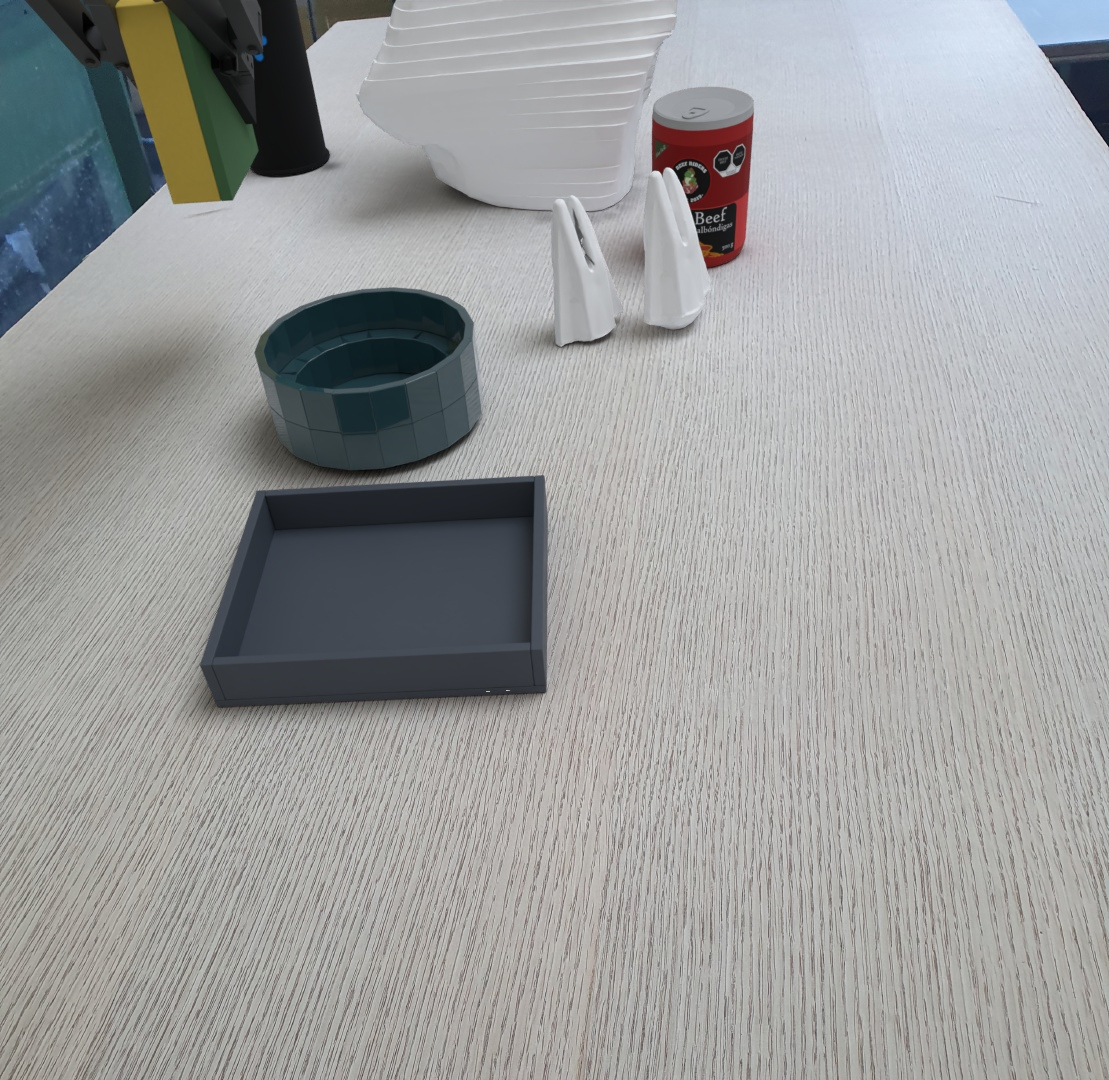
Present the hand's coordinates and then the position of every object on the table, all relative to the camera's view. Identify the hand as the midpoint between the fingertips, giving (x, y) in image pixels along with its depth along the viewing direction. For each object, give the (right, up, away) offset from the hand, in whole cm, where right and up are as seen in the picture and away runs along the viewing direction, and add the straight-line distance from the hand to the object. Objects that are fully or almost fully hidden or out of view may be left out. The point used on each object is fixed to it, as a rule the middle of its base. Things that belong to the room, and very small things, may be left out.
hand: (215, 105), depth 74 cm
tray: (+14, -36, -13) cm, 40 cm away
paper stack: (+21, +11, +30) cm, 38 cm away
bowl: (+11, -21, +1) cm, 24 cm away
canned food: (+35, -3, +16) cm, 39 cm away
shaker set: (+29, -12, +8) cm, 33 cm away
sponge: (0, -5, 0) cm, 5 cm away
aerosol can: (-4, +15, +36) cm, 40 cm away
